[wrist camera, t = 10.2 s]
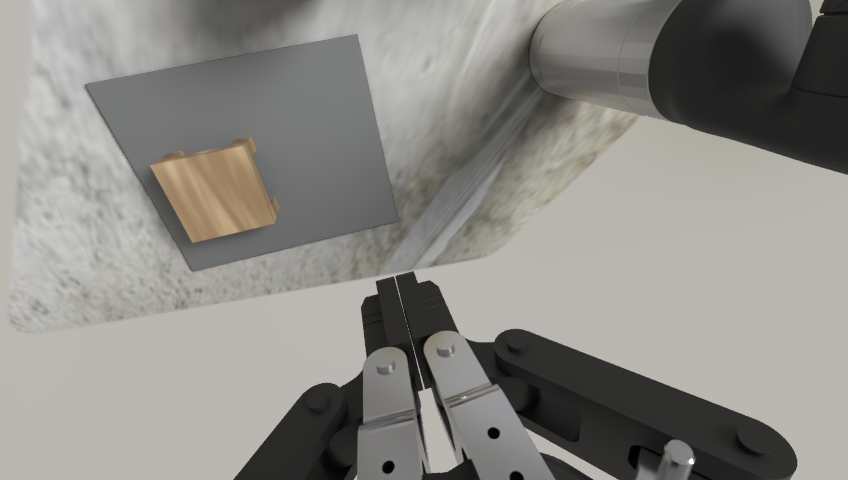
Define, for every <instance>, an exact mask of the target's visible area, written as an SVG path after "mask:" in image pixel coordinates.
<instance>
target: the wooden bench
mask: <svg viewBox="0 0 848 480" xmlns="http://www.w3.org/2000/svg"><path fill="white" fill-rule="evenodd" d="M255 151H256V148H255V145H254V143H253V140H252V138H251V136H250V137H245V138H240V139H236V140H235V141H234V143H233V144H232V145H230V146H225V147H221V148H216V149H211V150H206V151H202V152H197V153H192V154H187V155H184V153H183V151H178V152H173V153H168V154H166V155H165V156H163V157H162V158H160V159H159V160H157V161H156V162H154V163H153V164H152V165H150V167H151V168H152V170H153V172H154V174H155V176H156V178H157V179H158V181H159V183H160V185H161V187H162V188H163V190H164V192H165V194H166V196H167V197H168V199H169V201H170V203H171V205H172V207H173V208H174V210H175V212H176V214H177V216H178V217H179V219H180V221H181V223H182V225H183V226H184V228H185V230H186V232H187V234H188V235H189V237H190V239H191V241H192V243H195V242H199V241H203V240H207V239H212V238H216V237H220V236H224V235H229V234H233V233H237V232H241V231H245V230H250V229H254V228H258V227H262V226H267V225H271V224H275V221H276V217H277V214H278V211H279V206H278V204H277V201H276V199H275V197H271V198H268V195H267V193H266V190H265V188H264V185H263V183H262V180H261V178H260V176H259V173H258V171H257V168H256V166H255V163H254V161H253V158H252V156H253V154H254V153H255Z"/></svg>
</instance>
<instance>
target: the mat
mask: <svg viewBox="0 0 848 480" xmlns="http://www.w3.org/2000/svg"><path fill="white" fill-rule="evenodd" d="M85 86H86V87H87V89H88V91H89V93H90V94H91V96H92V98H93V99H94V101H95V103H96V105H97V106H98V108H99V110H100V112H101V113H102V115H103V117H104V118H105V120H106V122H107V124H108V125H109V127H110V129H111V131H112V132H113V134H114V136H115V138H116V139H117V141H118V143H119V144H120V146H121V148H122V150H123V151H124V153H125V155H126V157H127V158H128V160H129V162H130V163H131V165H132V167H133V169H134V170H135V172H136V174H137V176H138V177H139V179H140V181H141V183H142V184H143V186H144V188H145V189H146V191H147V193H148V195H149V196H150V198H151V200H152V202H153V203H154V205H155V207H156V208H157V210H158V212H159V214H160V215H161V217H162V219H163V221H164V222H165V224H166V226H167V228H168V229H169V231H170V233H171V234H172V236H173V238H174V240H175V241H176V243H177V245H178V247H179V248H180V250H181V252H182V253H183V255H184V257H185V259H186V260H187V262H188V264H189V266H190V267H191V269H192V271H197V270H201V269H205V268H209V267H213V266H217V265H221V264H225V263H229V262H233V261H237V260H241V259H246V258H250V257H254V256H258V255H262V254H266V253H270V252H274V251H278V250H282V249H286V248H290V247H294V246H298V245H303V244H307V243H311V242H315V241H319V240H323V239H327V238H331V237H335V236H339V235H343V234H347V233H351V232H356V231H360V230H364V229H368V228H372V227H376V226H380V225H384V224H388V223H392V222H396V221H398V218H397V213H396V209H395V204H394V200H393V195H392V191H391V186H390V181H389V177H388V172H387V168H386V163H385V159H384V154H383V149H382V145H381V140H380V136H379V131H378V126H377V122H376V117H375V113H374V108H373V104H372V99H371V94H370V90H369V85H368V81H367V76H366V72H365V67H364V62H363V58H362V53H361V49H360V44H359V40H358V35H357V34H355V35H350V36H344V37H339V38H333V39H328V40H322V41H317V42H312V43H306V44H301V45H295V46H290V47H284V48H279V49H273V50H268V51H263V52H257V53H252V54H246V55H241V56H235V57H230V58H224V59H219V60H213V61H208V62H203V63H197V64H192V65H186V66H181V67H175V68H170V69H164V70H159V71H153V72H148V73H143V74H137V75H132V76H126V77H121V78H115V79H110V80H104V81H99V82H94V83H88V84H85ZM250 136H251V138H252V140H253V143H254V145H255V148H256V151H255V153H254V154H253V156H252V158H253V161H254V163H255V166H256V168H257V171H258V173H259V176H260V178H261V180H262V183H263V185H264V188H265V190H266V193H267V195H268V198H271V197H275V199H276V201H277V204H278V206H279V211H278V214H277V217H276V221H275V224H271V225H267V226H262V227H258V228H254V229H250V230H245V231H241V232H237V233H233V234H229V235H224V236H220V237H216V238H212V239H207V240H203V241H199V242H195V243H192V241H191V239H190V237H189V235H188V234H187V232H186V230H185V228H184V226H183V225H182V223H181V221H180V219H179V217H178V216H177V214H176V212H175V210H174V208H173V207H172V205H171V203H170V201H169V199H168V197H167V196H166V194H165V192H164V190H163V188H162V187H161V185H160V183H159V181H158V179H157V178H156V176H155V174H154V172H153V170H152V168H151V167H150V165H152V164H153V163H154V162H156V161H157V160H159V159H160V158H162V157H163V156H165V155H166V154H168V153H173V152H178V151H183V153H184V155H187V154H192V153H197V152H202V151H206V150H211V149H216V148H221V147H225V146H230V145H232V144H233V143H234V141H235V140H236V139H240V138H245V137H250Z"/></svg>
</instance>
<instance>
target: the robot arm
mask: <svg viewBox="0 0 848 480" xmlns="http://www.w3.org/2000/svg"><path fill="white" fill-rule="evenodd" d="M819 12H820V13H824V15H821V16H818V17H817V19H816V21H815V24H814V26H813V28H812V13H811V6H810V2H809V0H567V1H565V2H562V3H560V4H558V5H557V6H555V7H554V8H552V9H551V10H550V11H549V12H548V13H547V14H546V15H545V16H544V17H543V19H542V20H541V22H540V23H539V25H538V26H537V28H536V31H535V33H534V35H533V38H532V42H531V46H530V56H529V59H530V68H531V71H532V74H533V77H534V78H535V80H536V82H537V84H538V85H539V86H540V87H541V88H542V89H544V90H545V91H547V92H549V93H552V94H555V95H559V96H563V97H567V98H571V99H575V100H579V101H584V102H588V103H592V104H596V105H601V106H605V107H609V108H613V109H618V110H622V111H626V112H630V113H634V114H639V115H643V116H648V117H653V118H657V119H661V120H665V121H670V122H674V123H678V124H683V125H687V126H688V127H690V128H692V129H695V130H698V131H702V132H705V133H708V134H712V135H717V136H720V137H724V138H729V139H732V140H735V141H738V142H742V143H745V144H748V145H752V146H755V147H758V148H761V149H764V150H767V151H770V152H773V153H776V154H780V155H783V156H786V157H789V158H792V159H795V160H799V161H802V162H805V163H808V164H811V165H815V166H819V167H822V168H826V169H829V170H833V171H836V172H840V173H843V174H847V175H848V0H824V2H823V4H822V6H821V9H820V11H819ZM396 281H397V285H398V289H399V293H400V297H401V301H402V305H403V308H402V305H401V301H400V297H399V294H398V290H397V286H396V282H395V279H394V277H390V278H386V279H382V280H379V281H376V285H377V290H378V294H377V295H373V296H370V297H366V298H365V299H364V302H363V304H362V306H361V312H362V321H363V329H364V338H365V346H366V355H367V359H366V361H365V363H364V366H363V370H362V372H361V373H360V374H359V375H358V376H357V377H356V378H354V379H353V380H351V381H350V382H348V383H347V384H345V385H343V386H342V387H340V388H339V387H338V386H337V385H335V384H332V383H321V384H318V385H315V386H313V387H311V388H310V389H308V390H307V391H306V392H304V393H303V394H302V396H301V397H300V398H299V399H298V400H297V402H296V403H295V404H294V405H293V407H292V408H291V409H290V410H289V412H288V413H287V414H286V415H285V416H284V418H283V419H282V420H281V421H280V423H279V424H278V425H277V426H276V428H275V429H274V430H273V431H272V433H271V434H270V435H269V436H268V437H267V439H266V440H265V441H264V442H263V444H262V445H261V446H260V447H259V449H258V450H257V451H256V452H255V454H254V455H253V456H252V457H251V459H250V460H249V461H248V462H247V464H246V465H245V466H244V467H243V469H242V470H241V471H240V472H239V473H238V475H237V476H236V477H235V478H234V480H354V478H355V476H356V475H357V480H593V479H591V478H590V477H588V476H587V475H585V474H583V473H582V472H580V471H578V470H577V469H575V468H573V467H572V466H570V465H569V464H567V463H565V462H564V461H562V460H560V459H558V458H555V457H553V456H550V455H547V454H544V453H540V452H539V451H538V450H537V448H536V446H535V445H534V443H533V441H532V440H531V438H530V436H529V435H528V433H527V431H526V430H525V428H527V429H529V430H531V431H532V432H534V433H536V434H538V435H540V436H542V437H543V438H545V439H547V440H549V441H550V442H552V443H554V444H556V445H558V446H559V447H561V448H563V449H565V450H567V451H568V452H570V453H572V454H574V455H576V456H577V457H579V458H581V459H583V460H585V461H586V462H588V463H590V464H592V465H593V466H595V467H597V468H599V469H600V470H602V471H604V472H606V473H608V474H609V475H611V476H613V477H615V478H617V479H618V480H790V478H791V477H792V475H793V474H794V472H795V470H796V468H797V458H796V455H795V452H794V450H793V449H792V447H791V446H790V444H789V443H788V442H787V441H786V440H785V438H783V437H782V436H781V435H780V434H779V433H778V432H777V431H775V430H774V429H772V428H771V427H769V426H768V425H766V424H764V423H762V422H760V421H758V420H755V419H753V418H751V417H748V416H745V415H743V414H740V413H738V412H735V411H732V410H730V409H727V408H725V407H722V406H720V405H717V404H714V403H712V402H709V401H707V400H704V399H702V398H699V397H696V396H694V395H691V394H689V393H686V392H683V391H681V390H678V389H676V388H673V387H670V386H668V385H665V384H663V383H660V382H657V381H655V380H652V379H650V378H647V377H645V376H642V375H640V374H637V373H634V372H632V371H629V370H626V369H624V368H621V367H619V366H616V365H614V364H611V363H609V362H606V361H603V360H601V359H598V358H596V357H593V356H590V355H588V354H585V353H583V352H580V351H578V350H575V349H572V348H570V347H567V346H564V345H562V344H559V343H557V342H554V341H552V340H549V339H547V338H544V337H541V336H539V335H536V334H533V333H531V332H528V331H525V330H522V329H510V330H506V331H504V332H502V333H500V334H499V335H498V336H497V338H496V339H495V342H484V343H482V342H473V341H470V340H468V339H466V338H464V337H463V336H462V335H461V334H460V333H459V332H458V330H457V328H456V325H455V323H454V321H453V318H452V316H451V314H450V312H449V309H448V307H447V305H446V303H445V300H444V298H443V296H442V294H441V291H440V289H439V287H438V286H437V285H435V284H434V283H433V282H431V281H430V280H429V281H426V282H421V283H418V282H417V280H416V277H415V274H414V272H409V273H405V274H401V275H397V276H396ZM403 309H404V312H403ZM404 313H405V316H404ZM405 317H406V319H405ZM406 321H407V323H406ZM407 325H408V327H407ZM408 328H409V330H408ZM409 332H410V334H409ZM410 336H411V338H410ZM411 339H412V341H411ZM412 343H413V345H412ZM413 347H414V350H415V354H416V357H417V361H418V365H419V368H420V372H421V376H422V379H423V383H424V387H425V389H428V388H432V392H433V395H434V399H435V403H436V408H437V411H438V414H439V416H440V419H441V421H442V424H443V427H444V429H445V432H446V434H447V437H448V439H449V442H450V445H451V447H452V449H453V452H454V455H455V458H456V461H457V463H458V466H456V467H455V468H453V469H452V470H450V471H448V472H444V473H431V471H430V465H429V459H428V453H427V447H426V440H425V434H424V427H423V421H422V415H421V411H420V409H421V403H420V398H419V395H418V391H421V390H423V387H422V383H421V378H420V374H419V371H418V366H417V362H416V358H415V354H414V350H413ZM524 427H525V428H524Z"/></svg>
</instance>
